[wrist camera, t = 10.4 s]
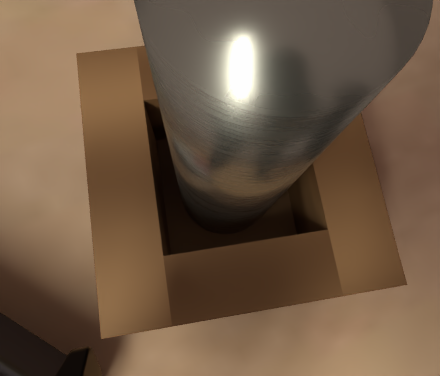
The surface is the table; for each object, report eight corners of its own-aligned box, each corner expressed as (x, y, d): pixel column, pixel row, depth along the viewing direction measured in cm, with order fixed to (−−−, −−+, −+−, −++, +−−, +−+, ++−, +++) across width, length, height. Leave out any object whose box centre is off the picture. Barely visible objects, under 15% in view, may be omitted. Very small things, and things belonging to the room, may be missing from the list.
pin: (287, 197, 17) (494, -2, 5) (218, 253, 16) (264, 176, 4) (232, 131, 18) (298, -187, 6) (163, 182, 17) (69, -60, 5)
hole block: (349, 283, 17) (407, 284, 13) (130, 321, 17) (100, 339, 12) (303, 87, 20) (336, 23, 15) (108, 112, 19) (76, 53, 14)
